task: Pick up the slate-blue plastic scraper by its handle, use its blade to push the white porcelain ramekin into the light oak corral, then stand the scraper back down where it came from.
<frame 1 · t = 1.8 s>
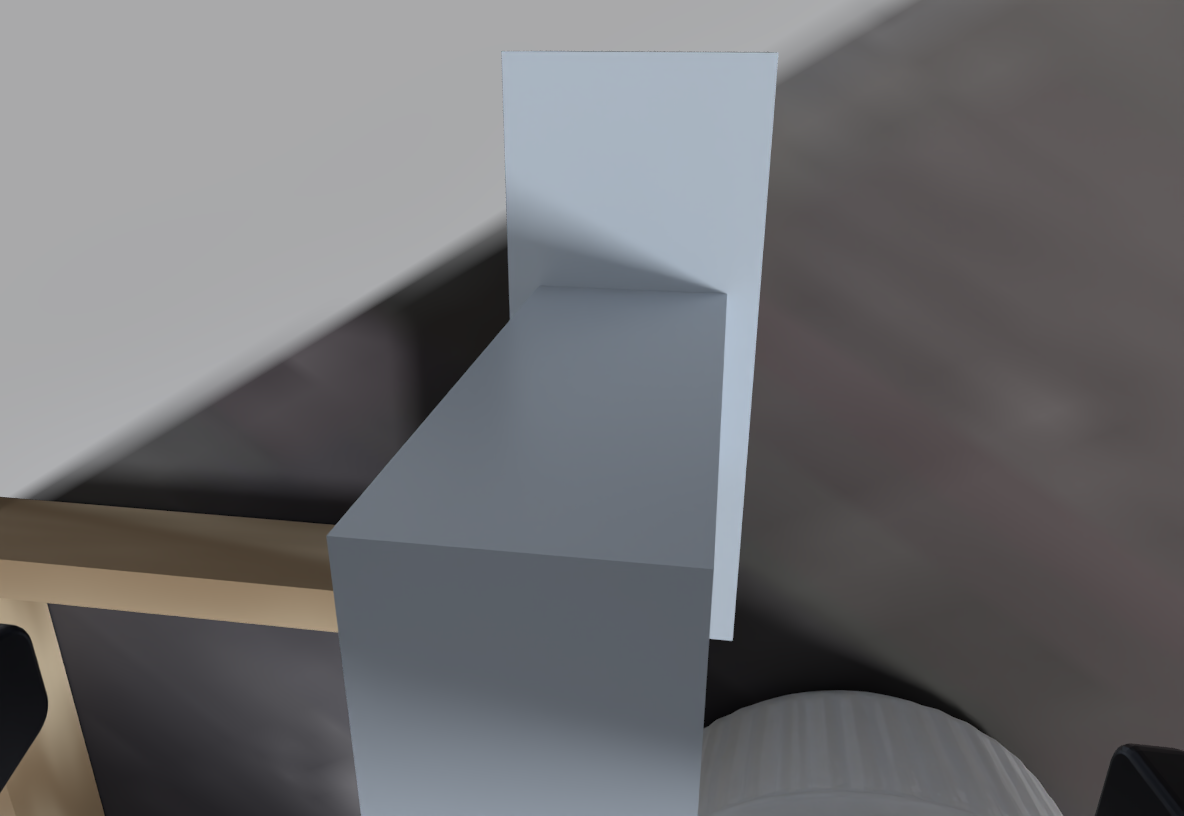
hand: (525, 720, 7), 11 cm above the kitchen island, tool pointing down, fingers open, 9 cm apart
oak corral: (310, 771, 23), on the kitchen island
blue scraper: (647, 326, 17), on the kitchen island
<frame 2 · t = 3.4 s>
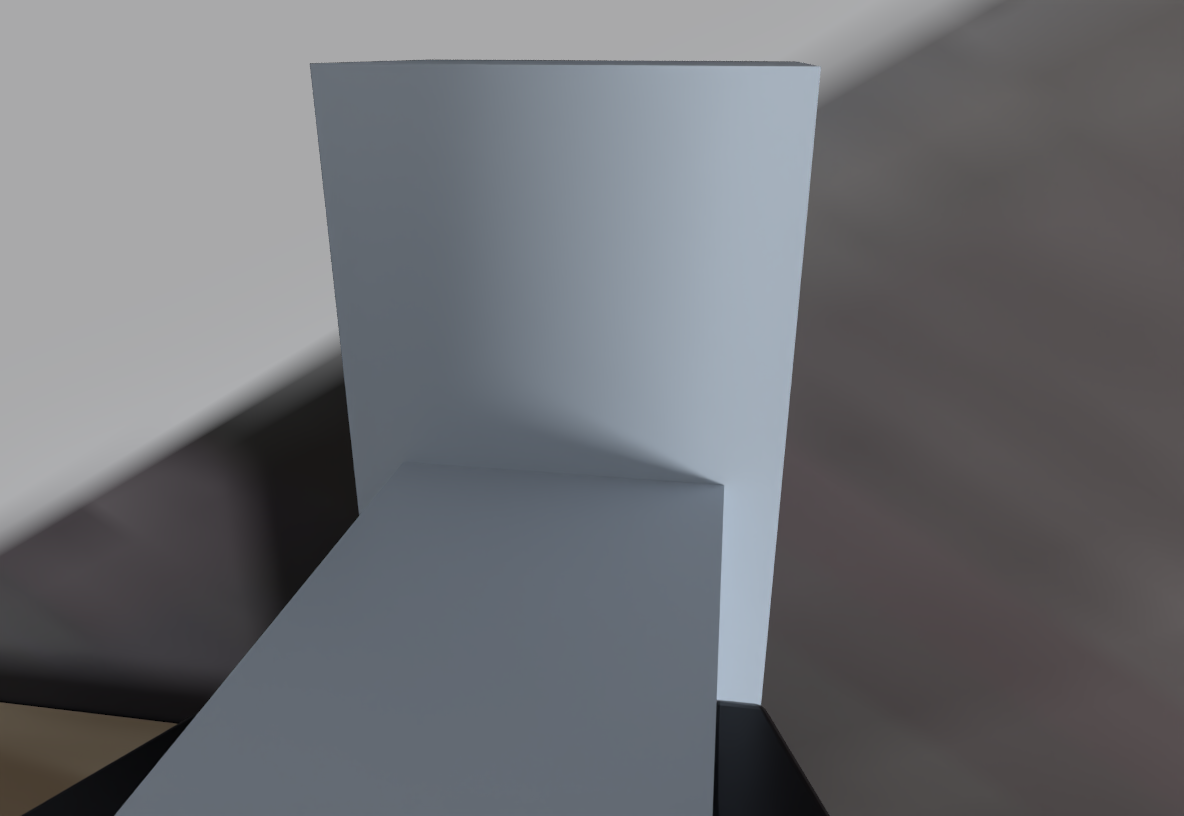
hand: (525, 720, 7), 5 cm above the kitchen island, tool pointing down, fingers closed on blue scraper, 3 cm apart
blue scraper: (604, 475, 11), on the kitchen island, touching gripper
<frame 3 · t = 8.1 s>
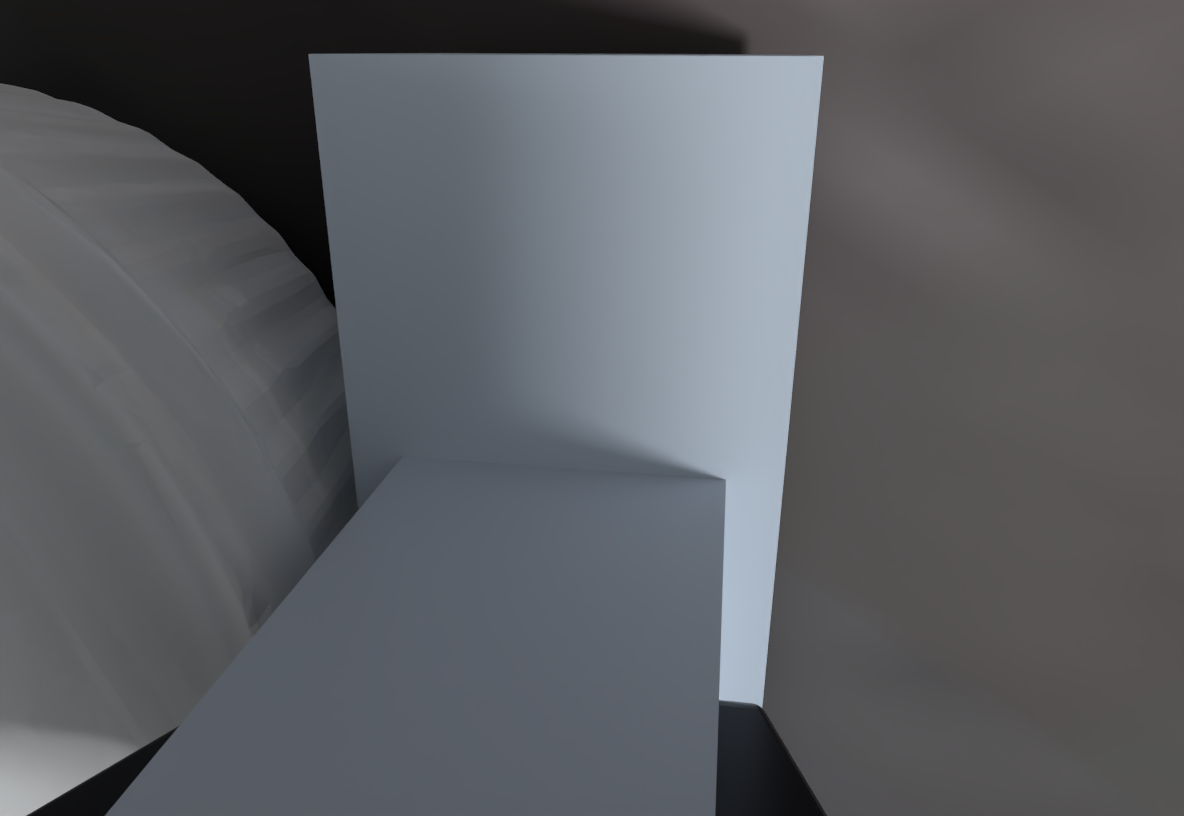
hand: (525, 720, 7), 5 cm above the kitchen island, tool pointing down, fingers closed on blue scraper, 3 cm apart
ramekin: (105, 426, 13), on the kitchen island, touching gripper
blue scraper: (604, 471, 11), point 1 cm above the kitchen island, touching gripper
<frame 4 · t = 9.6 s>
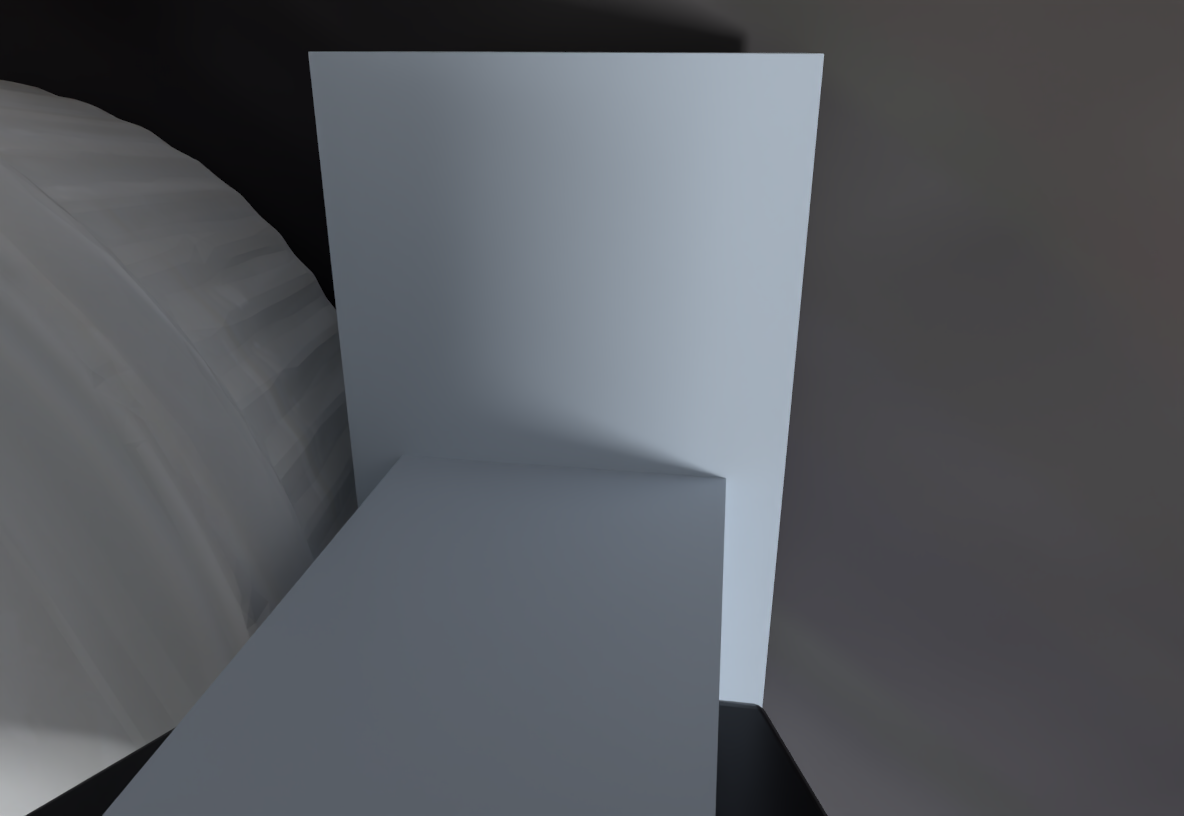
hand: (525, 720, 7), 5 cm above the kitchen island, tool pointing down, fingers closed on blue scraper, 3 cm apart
ramekin: (103, 423, 13), on the kitchen island, touching gripper
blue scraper: (604, 470, 11), on the kitchen island, touching gripper
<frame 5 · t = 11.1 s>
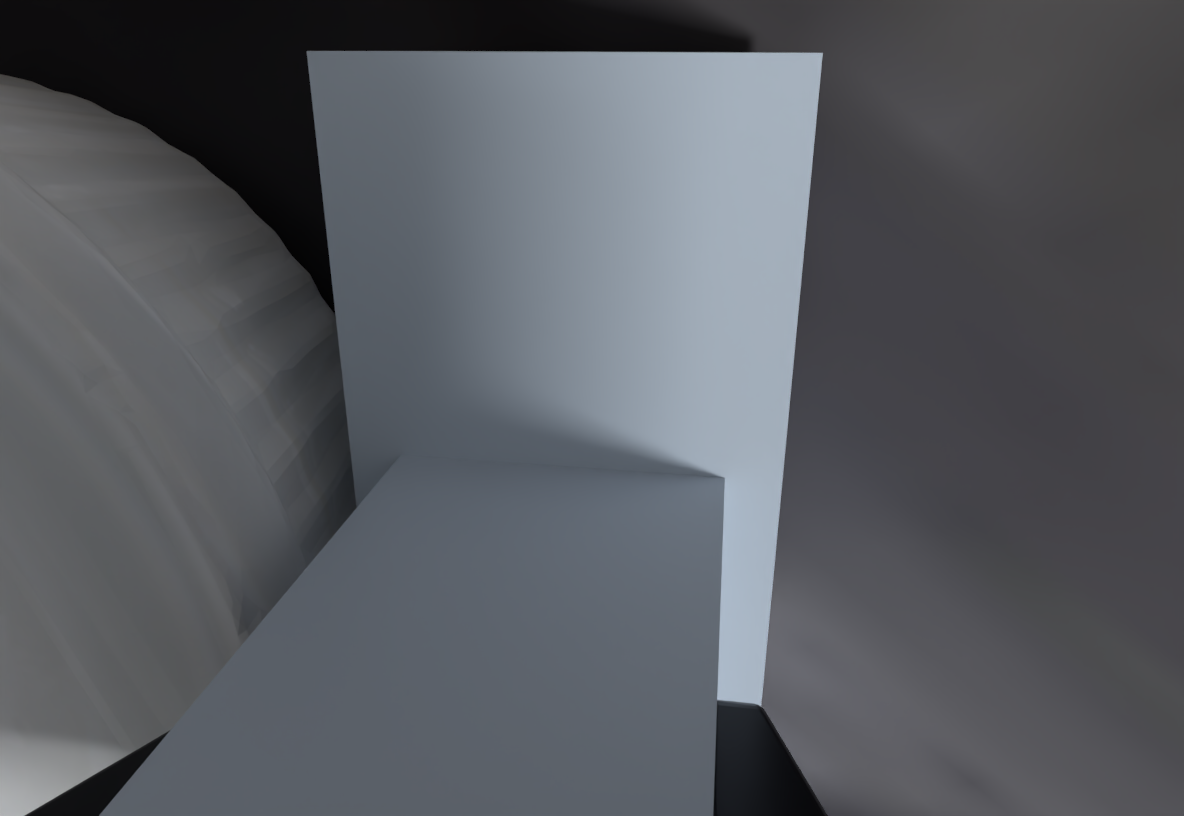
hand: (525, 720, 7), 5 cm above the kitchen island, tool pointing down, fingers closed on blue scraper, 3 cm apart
ramekin: (95, 419, 13), on the kitchen island, touching gripper
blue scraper: (603, 470, 11), on the kitchen island, touching gripper
when the fingers open (5 cm above the kitchen island, at t = 14.9 s): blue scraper stays where it is, on the kitchen island.
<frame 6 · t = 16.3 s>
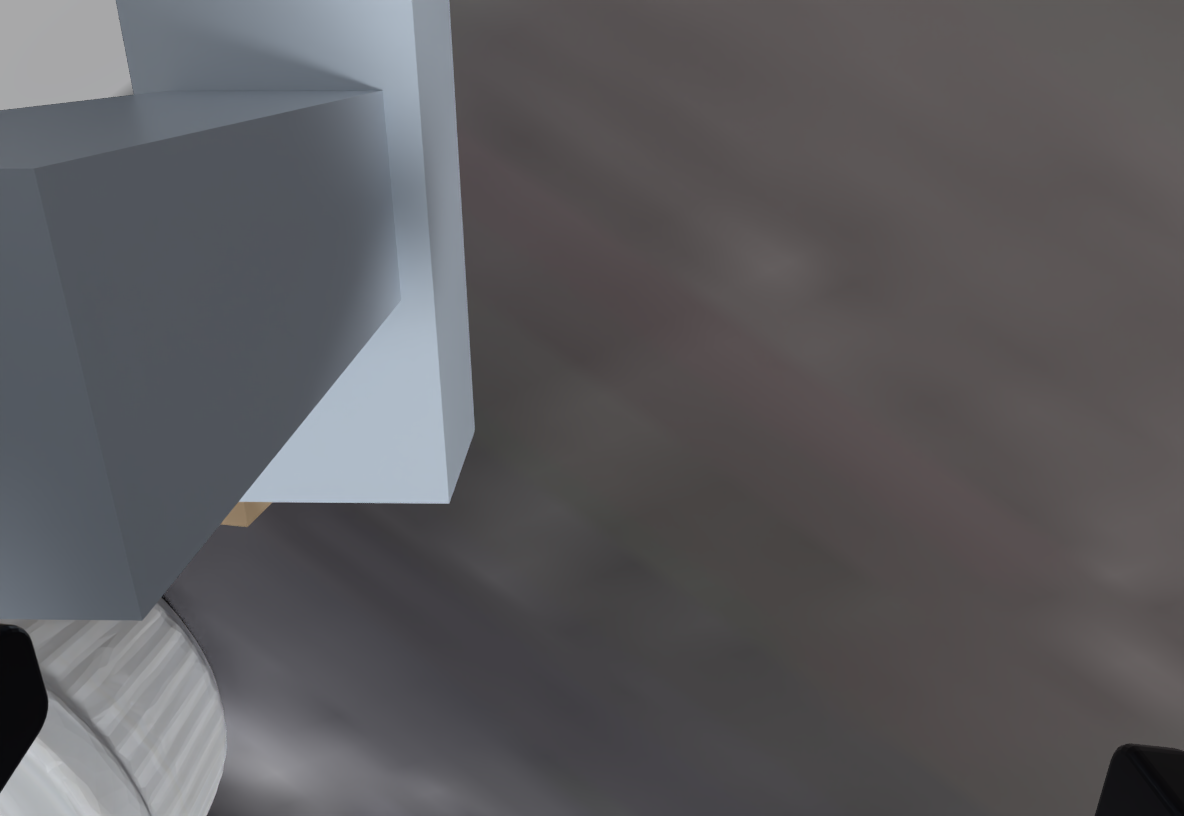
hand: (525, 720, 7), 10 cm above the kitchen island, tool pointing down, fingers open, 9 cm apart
oak corral: (68, 678, 22), on the kitchen island
ramekin: (64, 668, 22), on the kitchen island
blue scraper: (347, 171, 16), on the kitchen island, tilted 7°
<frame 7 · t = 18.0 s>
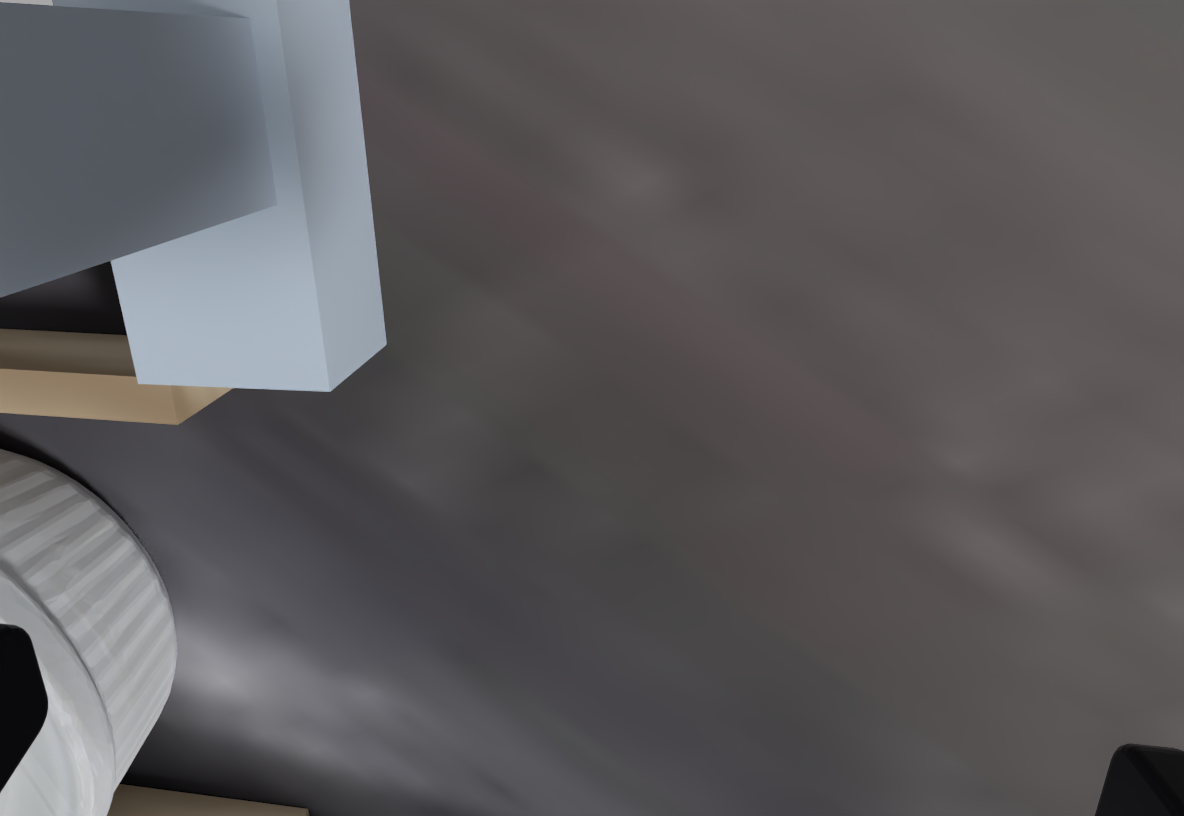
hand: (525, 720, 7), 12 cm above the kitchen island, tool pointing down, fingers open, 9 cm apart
oak corral: (34, 594, 24), on the kitchen island
ramekin: (30, 587, 24), on the kitchen island
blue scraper: (268, 105, 18), on the kitchen island
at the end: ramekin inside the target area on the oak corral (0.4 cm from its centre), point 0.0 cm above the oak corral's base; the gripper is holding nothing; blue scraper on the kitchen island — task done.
